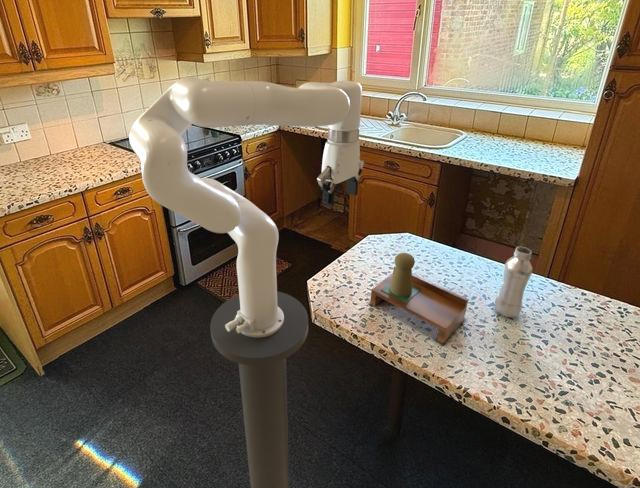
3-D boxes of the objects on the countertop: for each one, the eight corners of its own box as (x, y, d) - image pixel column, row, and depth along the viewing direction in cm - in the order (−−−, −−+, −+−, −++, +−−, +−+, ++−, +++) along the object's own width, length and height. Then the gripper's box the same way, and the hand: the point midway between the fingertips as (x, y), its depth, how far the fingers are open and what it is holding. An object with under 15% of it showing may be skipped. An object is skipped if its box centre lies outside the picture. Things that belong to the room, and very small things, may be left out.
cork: (388, 293, 108) (392, 259, 103) (391, 280, 113) (395, 248, 108) (411, 298, 106) (416, 264, 102) (412, 285, 112) (417, 251, 107)
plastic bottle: (506, 323, 105) (525, 260, 97) (487, 307, 111) (503, 246, 102) (524, 317, 108) (544, 254, 99) (505, 301, 113) (522, 241, 104)
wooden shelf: (443, 344, 99) (447, 322, 96) (370, 303, 112) (371, 283, 109) (463, 320, 107) (468, 299, 103) (393, 284, 120) (395, 265, 117)
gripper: (352, 125, 104) (349, 186, 111) (307, 139, 92) (306, 205, 100) (377, 131, 99) (371, 193, 107) (332, 146, 88) (329, 215, 95)
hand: (340, 199), depth 103 cm, fingers open, 9 cm apart
